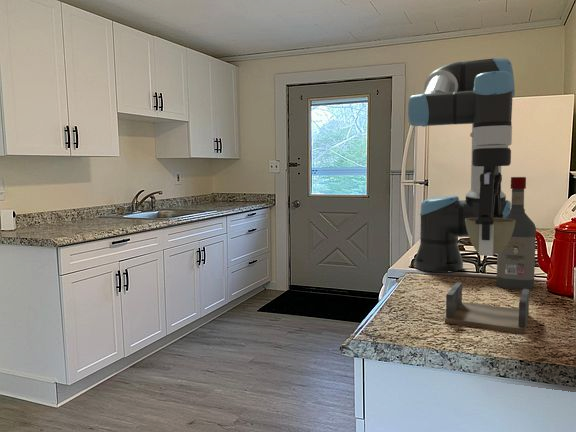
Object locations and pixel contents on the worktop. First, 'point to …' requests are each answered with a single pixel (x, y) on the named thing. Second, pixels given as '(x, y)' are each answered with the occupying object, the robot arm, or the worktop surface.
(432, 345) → the worktop surface
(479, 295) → the worktop surface
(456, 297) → the cradle
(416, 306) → the worktop surface
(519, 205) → the liquor
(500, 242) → the flower pot
